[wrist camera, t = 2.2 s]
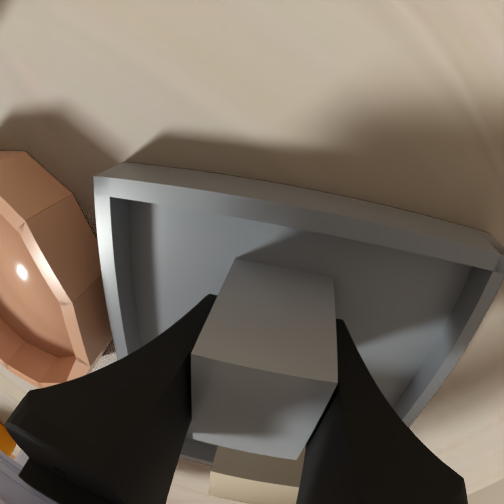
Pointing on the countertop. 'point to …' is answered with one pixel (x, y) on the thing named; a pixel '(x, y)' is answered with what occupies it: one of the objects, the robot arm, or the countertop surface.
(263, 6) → the countertop surface
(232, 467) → the cream wooden cube
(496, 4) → the countertop surface
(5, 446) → the beer bottle
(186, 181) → the tray
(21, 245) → the bowl
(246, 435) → the grey sharp-edged cube
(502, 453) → the countertop surface
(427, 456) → the robot arm
